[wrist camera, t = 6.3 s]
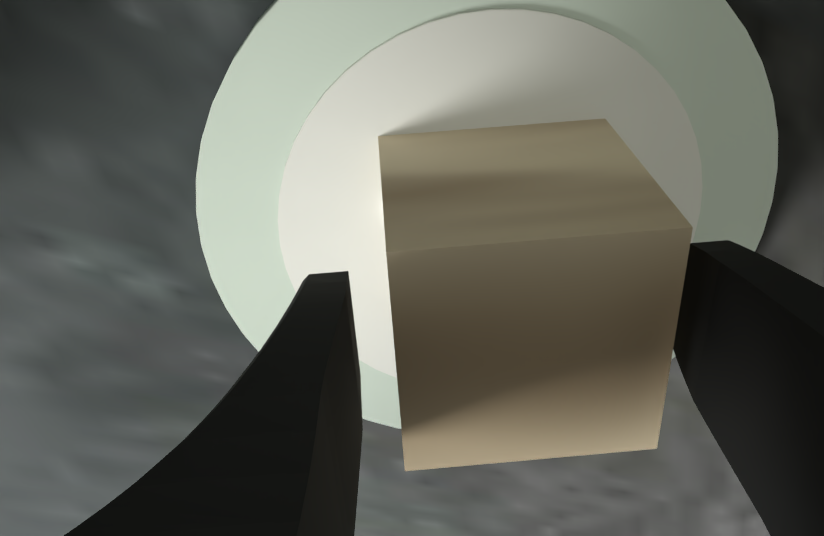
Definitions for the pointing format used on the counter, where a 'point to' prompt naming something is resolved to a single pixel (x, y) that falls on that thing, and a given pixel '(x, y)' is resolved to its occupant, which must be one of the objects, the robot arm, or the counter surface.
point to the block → (528, 292)
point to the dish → (456, 110)
